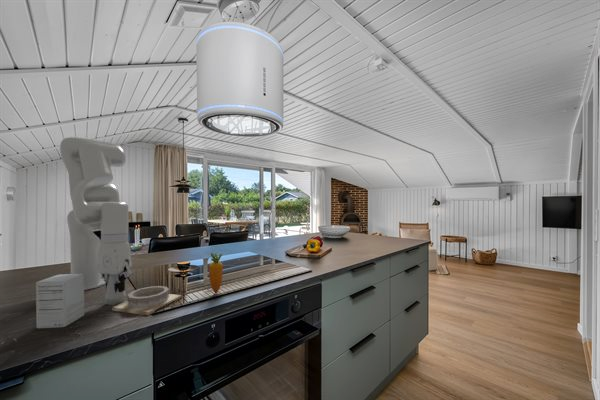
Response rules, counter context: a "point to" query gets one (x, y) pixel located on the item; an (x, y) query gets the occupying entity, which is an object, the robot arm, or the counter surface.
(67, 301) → the supplement box
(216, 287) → the carrot
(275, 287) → the counter surface
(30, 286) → the counter surface
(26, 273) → the counter surface
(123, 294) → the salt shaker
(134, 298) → the ring holder
